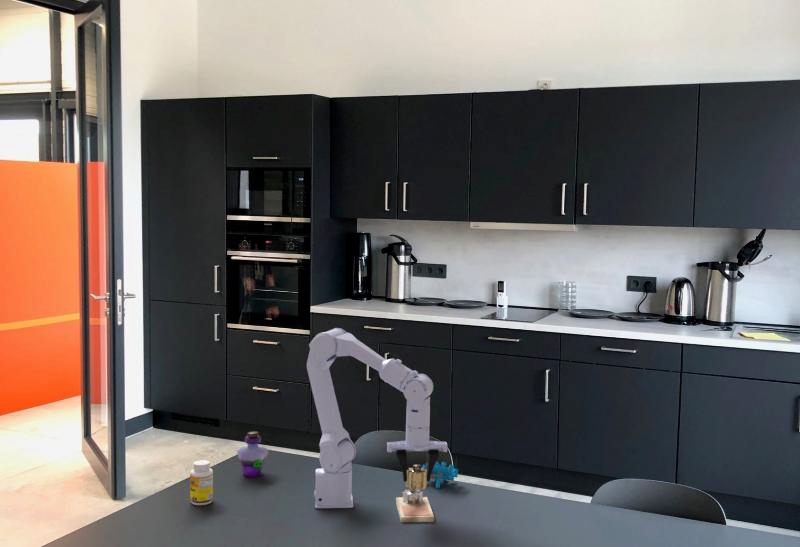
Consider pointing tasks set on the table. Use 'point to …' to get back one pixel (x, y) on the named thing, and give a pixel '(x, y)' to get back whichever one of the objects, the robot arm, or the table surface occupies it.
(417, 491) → the sun gear
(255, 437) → the potion bottle
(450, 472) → the toy dinosaur
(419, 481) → the planet gear
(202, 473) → the supplement bottle
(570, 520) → the table surface
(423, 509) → the plate
